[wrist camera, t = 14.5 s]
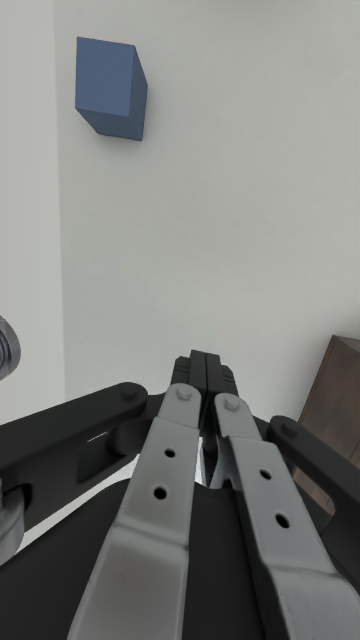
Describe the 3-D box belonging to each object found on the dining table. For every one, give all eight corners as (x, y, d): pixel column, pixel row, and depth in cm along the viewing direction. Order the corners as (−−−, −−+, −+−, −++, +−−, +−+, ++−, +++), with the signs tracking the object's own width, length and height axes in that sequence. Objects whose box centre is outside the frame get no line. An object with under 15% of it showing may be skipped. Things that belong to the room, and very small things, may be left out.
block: (97, 133, 23) (74, 108, 19) (100, 77, 21) (76, 35, 17) (142, 141, 23) (128, 117, 18) (147, 84, 21) (134, 44, 17)
